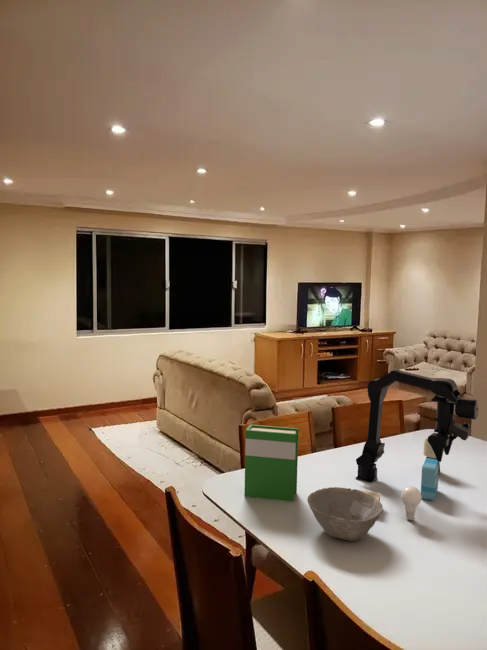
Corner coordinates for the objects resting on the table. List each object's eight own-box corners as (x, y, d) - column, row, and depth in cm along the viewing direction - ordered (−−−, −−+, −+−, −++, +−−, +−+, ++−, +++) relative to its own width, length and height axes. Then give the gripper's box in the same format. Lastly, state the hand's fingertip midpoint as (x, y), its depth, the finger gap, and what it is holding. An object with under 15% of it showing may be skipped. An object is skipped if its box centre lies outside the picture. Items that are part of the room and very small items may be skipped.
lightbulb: (396, 515, 169) (398, 483, 168) (415, 515, 170) (417, 482, 169) (404, 524, 163) (406, 491, 162) (423, 524, 163) (425, 490, 162)
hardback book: (296, 493, 185) (298, 428, 183) (294, 501, 178) (295, 434, 176) (248, 488, 189) (250, 424, 187) (244, 496, 182) (245, 430, 180)
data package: (433, 502, 180) (435, 469, 179) (420, 499, 182) (421, 466, 181) (437, 490, 190) (439, 458, 189) (424, 487, 192) (426, 456, 191)
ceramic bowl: (337, 561, 141) (339, 526, 140) (292, 525, 161) (293, 494, 160) (398, 543, 151) (399, 510, 150) (348, 511, 171) (349, 482, 171)
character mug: (442, 477, 203) (444, 445, 202) (423, 475, 205) (425, 443, 203) (439, 468, 213) (441, 437, 212) (421, 466, 215) (423, 435, 214)
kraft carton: (355, 511, 172) (355, 498, 171) (358, 502, 178) (359, 489, 178) (377, 515, 169) (378, 501, 169) (379, 506, 176) (380, 493, 175)
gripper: (462, 424, 169) (460, 470, 170) (475, 413, 184) (473, 456, 185) (428, 418, 175) (426, 463, 177) (443, 408, 190) (441, 449, 191)
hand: (443, 458), depth 182 cm, fingers open, 9 cm apart
